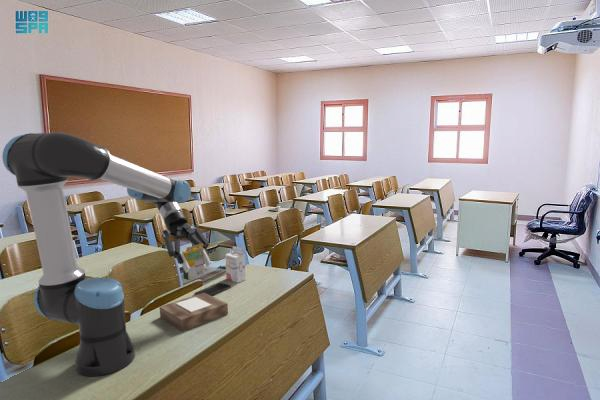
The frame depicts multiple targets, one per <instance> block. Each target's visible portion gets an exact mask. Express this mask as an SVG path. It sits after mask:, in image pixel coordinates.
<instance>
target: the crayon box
mask: <svg viewBox="0 0 600 400" xmlns="http://www.w3.org/2000/svg"><path fill="white" fill-rule="evenodd" d="M197 247H198V248H197ZM181 253H183V254H184V256H185V258H186V260H187V263H188V265H189V267H190V269H189V271H188V272H187V273H186V272H185V270H184V268H183V267H182V272H183V273H182V274H183V280H188V281H191V280H192V279H195V278H198V277H201V276H205V275H206V274H205V263H204V257H203V243H202V244H198V245H191V246H188V247H186V250H185V251H181Z"/></svg>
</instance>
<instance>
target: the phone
mask: <svg viewBox="0 0 600 400" xmlns="http://www.w3.org/2000/svg"><path fill="white" fill-rule="evenodd" d="M230 289H232V285H231V284H227V283H223V282H217V283H216V284H213V285H211V286H209V287H205V288H203V289H200V290H198V291H196V292H193V296H195V295H198V294H201V293H206V294H208V295H210V296H212V297H214V296H216V295H219V294H221V293H223V292H225V291H228V290H230Z"/></svg>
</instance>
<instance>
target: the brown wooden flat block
mask: <svg viewBox="0 0 600 400" xmlns="http://www.w3.org/2000/svg"><path fill="white" fill-rule="evenodd" d="M228 305H229V304H228V303H227V302H225V301H223V300H220V299H219V298H217V297H214V296H210V295H208V294H206V293H201V294H198V295H195V296H194V295H192V296H190V297H185V298H182V299H179V300H176V301H173V302H170V303H167V304H164V305H161V306H159V317H160V318H161V319H162V320H164V321H166V323H169V324H170V325H171V326H173V327H175V328H176V329H178V330H180V331H181V332H184V331H186V330H187V331H188V330H190V329H192V328H195V327H198V326H200V325H203V324H205V323H208V322H210V321H213V320H216V319H219V318H222V317H224V316H227V315H228V314H229V306H228Z"/></svg>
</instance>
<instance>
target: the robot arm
mask: <svg viewBox="0 0 600 400" xmlns="http://www.w3.org/2000/svg"><path fill="white" fill-rule="evenodd" d="M1 158H2V163H3V166H4V167H5V169H6V170H7V171H8V172H10V173H11V174H12V175H14V176H15V180H16V183H17V187H18V188H19V189H21V190H23V191H25V193H26V197H27V203H28V207H29V211H30V216H31V221H32V226H33V231H34V236H35V240H36V245H37V250H38V255H39V259H40V264H41V265H40V266H41V268H42V273H43V274H42V276H41V277H40V278H39V279H38V286H37V288H36V292H35V293H34V297H33V303H34V304H33V305H34V307H35V309H36V311H37V312H38V313H39V314H40V315H41V316H42V317H44V318H47V319H49V320H53V321H54V322H57V321H58V322H64V323H69V324H72V325H73V324H74V325H77V326H78V330H79V339H80V341H79V346H78V350H77V354H76V357H75V370H76V372H77V373H78V374H79V375H82V376H85V377H99V376H105V375H108V374H111V373H114V372H118V371H119V370H121V369H123V368H124V369H125V368H126V367H127V366H128V365H130V364H131V363H132V362H133V360H134V359H135V358H136V350H135V345H134V343H133V342H132V339H131V338H130V336H129V333H128V332H127V325H126V312H125V311H126V310H125V293H124V292H123V291H124V290H123V287H122V284H121V282H120V281H118V280H117V279H115V278H112V277H106V276H101V277H99V276H97V277H90V278H87V277H86V271H85V270H84V268H82V267H80V266H78V260H77V255H76V251H75V244H74V239H73V236H72V235H73V234H72V231H71V223H70V219H69V214H68V208H67V202H66V198H65V193H64V185H65V184H66V183H67V182H68V180H69V179H68V178H80V179H86V180H88V181H89V180H90V181H98V180H101V181H105V182H107V183H108V182H109V183H111V184H114V185H117V186H120V187H123V188H126V192H127V194H128V196H129V197H131V198H133V199H135V200H137V201H141V202H145V203H148V204H151V205H155V206H156V208H157V211H159V214H160V216H161V218H162V220H163V223H164V224H165V226H166V229H167V230H166V229H164V230H163V231H162V233H161V237H162V238H163V239H164V241H165V246H166V249H167V253H168V256H169V257H171V258H172V257H173V258H174V259H176V260H177V262H178V264H179V265H182V269H183V268H184V270H185V272H186V273H187V272H188V271H189V269H190V267H189V265H188V263H187V260H186V258H185V256H184V254H183V253H182V252H181V239H186V240H188V241H190V242H191V243H192V244H193V246H195V245H198V244H202V243H203V257H204V266H205V267H206V268H209V267H210V265H211V263H212V261H211V259H210V258H209V257H210V255H209V252H208V250H207V249H208V248H209V246H210V242H208V240H207V238H206V237H205V236H204V235H203V233H202V232H201V230H200V228H199V225H198V224H195V225H190V224H189V223H188V219H187V217H186V216H185V214H184V212H183V210H182V208H181V206H180V204H179V203H186V202H187V201H189V199H190V197H191V194H192V191H191V190H192V189H191V185H190V184H189V182H188V181H186V180H180V179H178V180H175V179H171V178H169V177H166V176H164V175H161V173H157V172H155V171H152V170H150V169H147V168H145V167H142V166H140V165H137V164H136V163H132V162H131V161H130V162H129V161H127V160H125V159H123V158H120V157H118V156H116V155H113V154H110V151H109V150H108V149H107V148H105V147H104V146H101V145H98V144H96V143H94V142H91V141H89V140H87V139H84V138H81V137H79V136H77V135H74V134H69V133H67V132H61V131H60V132H58V131H56V132H55V131H53V132H39V133H38V132H37V133H33V132H29V133H25V134H20V135H17V136H14V137H12V138H11V139H10V140H9V141H8V142H7V143H6V144H5V146H4V148H3V149H2V157H1ZM171 236H172V237H173V241H174V245H173V242H172V239H171ZM196 248H198V247H196Z"/></svg>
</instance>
